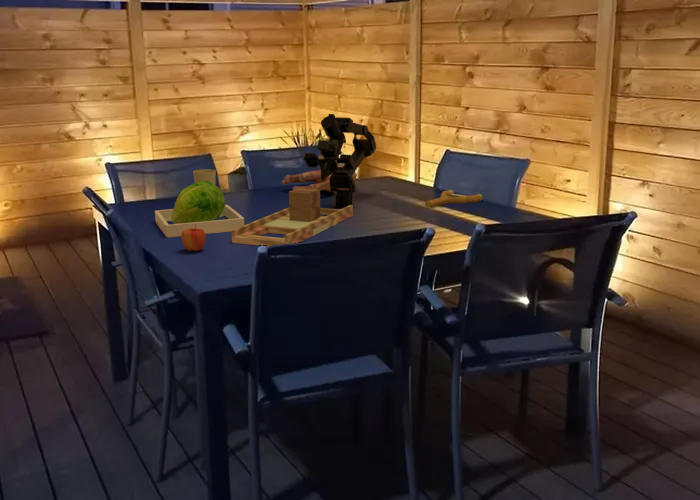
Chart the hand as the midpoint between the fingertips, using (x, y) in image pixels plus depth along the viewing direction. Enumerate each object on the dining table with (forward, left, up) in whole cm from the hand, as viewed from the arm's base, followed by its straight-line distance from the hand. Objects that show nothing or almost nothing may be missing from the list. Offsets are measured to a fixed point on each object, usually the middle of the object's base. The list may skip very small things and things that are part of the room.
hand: (322, 179), depth 280 cm
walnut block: (+10, +10, -12) cm, 19 cm away
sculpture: (-17, -47, -14) cm, 52 cm away
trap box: (+15, +15, -14) cm, 25 cm away
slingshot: (-53, -4, -14) cm, 55 cm away
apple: (+53, +31, -14) cm, 63 cm away
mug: (+33, -50, -14) cm, 61 cm away
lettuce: (+45, -3, -14) cm, 47 cm away
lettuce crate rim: (+45, -3, -14) cm, 47 cm away
